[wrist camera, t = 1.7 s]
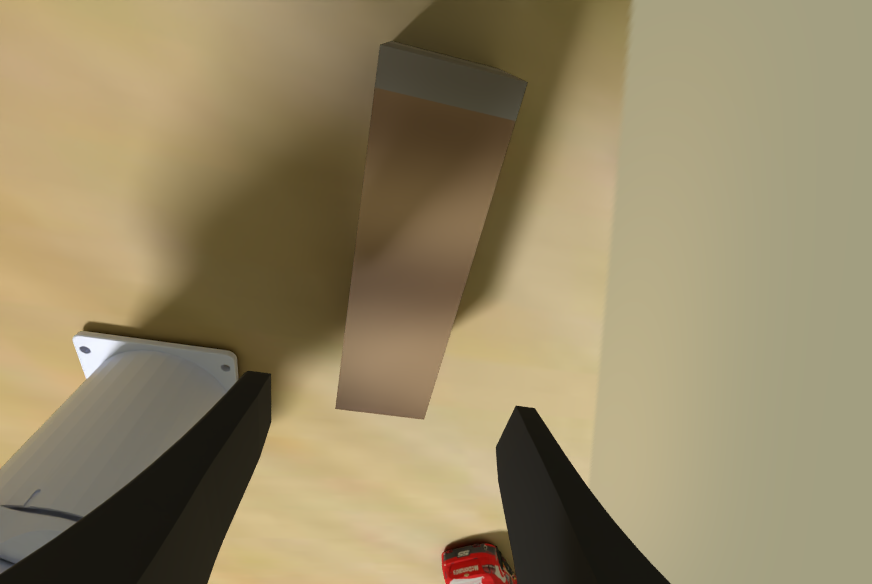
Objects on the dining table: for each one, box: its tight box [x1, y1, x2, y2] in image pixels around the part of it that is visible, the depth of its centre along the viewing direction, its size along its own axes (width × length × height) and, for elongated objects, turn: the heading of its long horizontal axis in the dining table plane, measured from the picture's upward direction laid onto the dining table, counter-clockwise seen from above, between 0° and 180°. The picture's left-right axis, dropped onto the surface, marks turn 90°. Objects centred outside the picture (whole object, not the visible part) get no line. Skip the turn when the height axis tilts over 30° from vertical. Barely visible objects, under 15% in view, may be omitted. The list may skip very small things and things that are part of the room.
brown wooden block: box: [335, 41, 528, 419], centre depth 16 cm, size 14×4×5 cm, turn 168°
